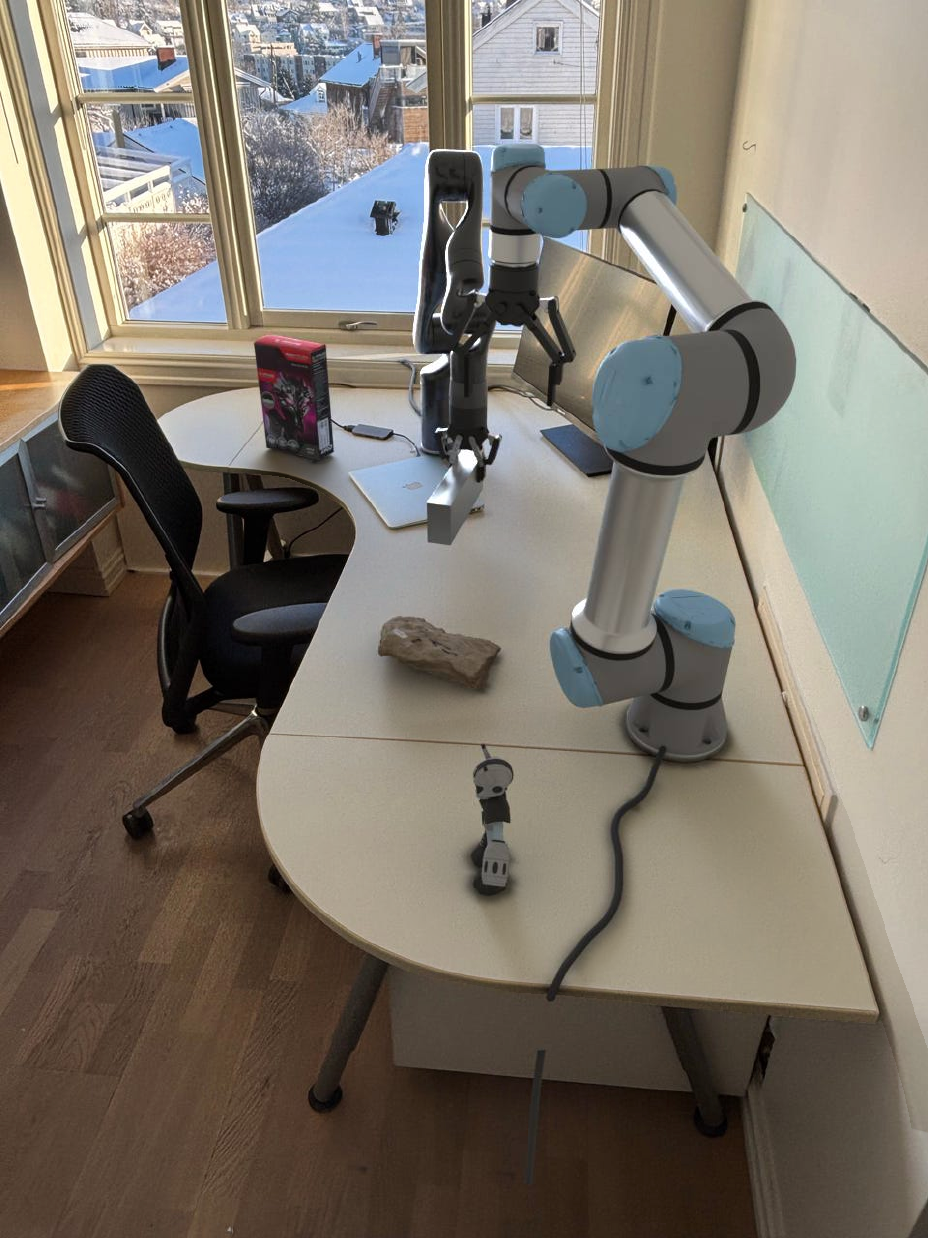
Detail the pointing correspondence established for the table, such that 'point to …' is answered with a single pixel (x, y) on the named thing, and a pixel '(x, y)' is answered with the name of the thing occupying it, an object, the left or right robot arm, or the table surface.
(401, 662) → the stone
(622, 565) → the right robot arm
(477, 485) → the bar
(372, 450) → the table surface
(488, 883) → the robot
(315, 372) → the graphics card box
